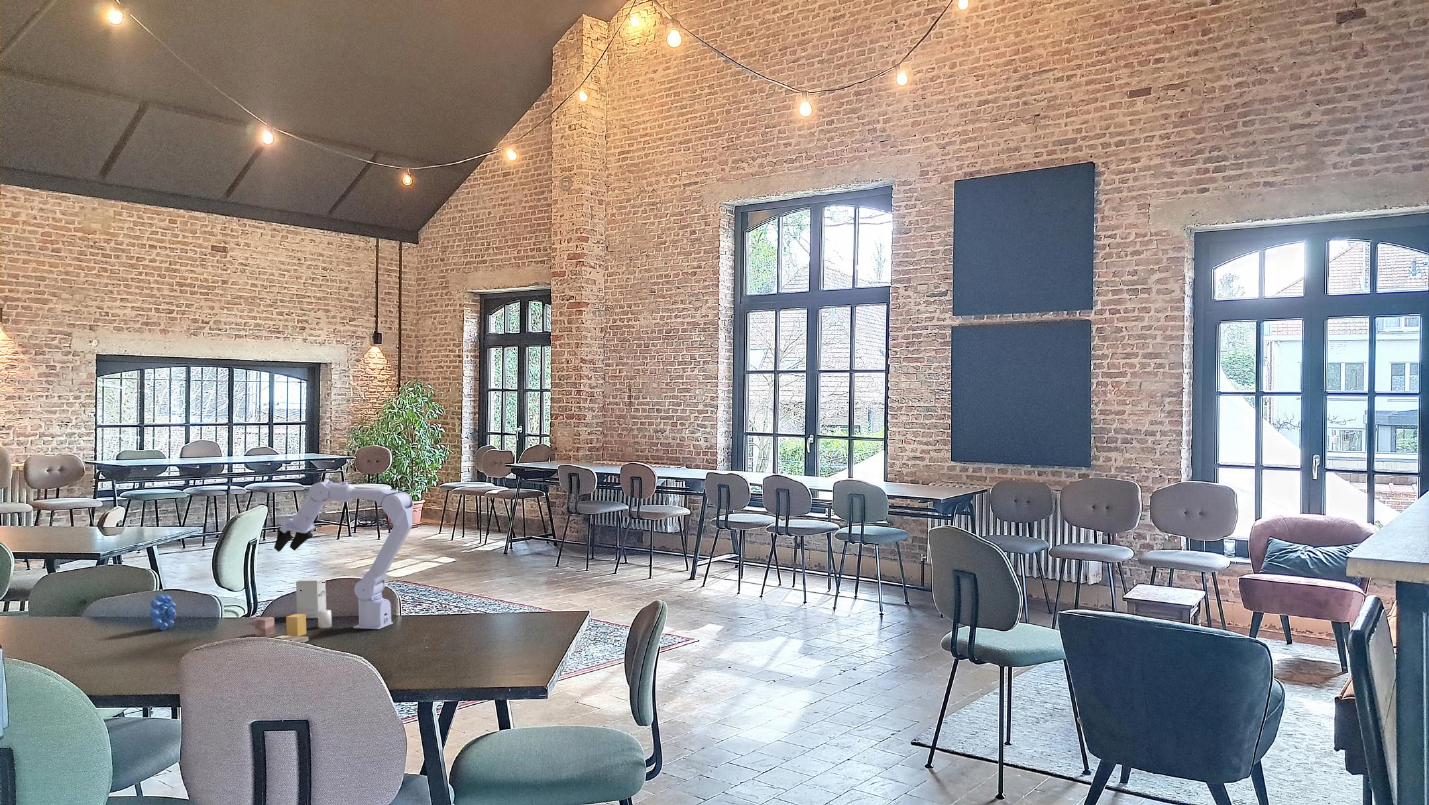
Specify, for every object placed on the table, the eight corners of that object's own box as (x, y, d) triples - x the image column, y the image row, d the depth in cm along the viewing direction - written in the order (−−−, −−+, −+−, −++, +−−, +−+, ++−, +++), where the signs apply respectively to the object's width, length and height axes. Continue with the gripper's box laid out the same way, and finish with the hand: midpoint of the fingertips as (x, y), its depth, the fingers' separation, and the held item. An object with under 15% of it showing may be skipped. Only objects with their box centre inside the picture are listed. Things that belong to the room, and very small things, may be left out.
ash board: (308, 640, 307) (308, 636, 307) (285, 649, 298) (285, 645, 298) (280, 639, 310) (280, 635, 310) (257, 647, 301) (257, 643, 301)
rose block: (274, 633, 319) (274, 617, 319) (265, 636, 315) (265, 620, 315) (264, 632, 320) (263, 616, 320) (254, 635, 316) (254, 619, 316)
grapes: (164, 634, 321) (163, 596, 321) (144, 634, 322) (143, 597, 322) (187, 626, 332) (186, 589, 332) (168, 626, 333) (167, 589, 333)
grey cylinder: (334, 625, 327) (333, 610, 327) (326, 628, 323) (325, 612, 323) (323, 625, 328) (323, 609, 328) (315, 628, 324) (315, 612, 324)
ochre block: (306, 633, 317) (305, 614, 317) (297, 636, 313) (297, 617, 313) (295, 633, 318) (294, 614, 318) (286, 636, 314) (286, 616, 314)
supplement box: (318, 618, 339) (317, 580, 338) (296, 618, 339) (295, 581, 339) (327, 613, 346) (325, 576, 346) (305, 613, 346) (304, 576, 346)
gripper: (312, 507, 334) (290, 540, 335) (283, 507, 320) (260, 542, 321) (327, 519, 332) (305, 553, 333) (298, 520, 318) (275, 556, 319)
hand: (284, 549), depth 327 cm, fingers open, 7 cm apart
